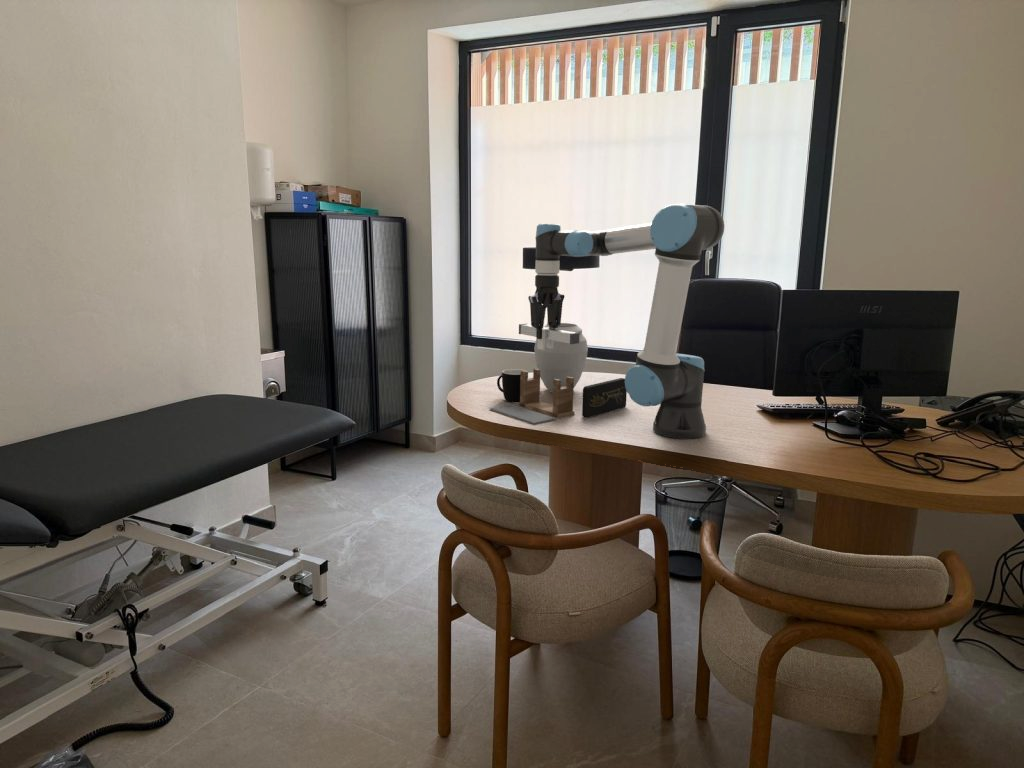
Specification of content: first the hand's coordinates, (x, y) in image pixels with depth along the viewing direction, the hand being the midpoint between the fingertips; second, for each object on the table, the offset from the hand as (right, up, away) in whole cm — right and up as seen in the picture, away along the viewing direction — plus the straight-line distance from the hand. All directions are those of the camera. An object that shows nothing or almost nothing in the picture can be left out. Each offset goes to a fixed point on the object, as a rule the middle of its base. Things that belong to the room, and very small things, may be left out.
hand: (545, 348), depth 222 cm
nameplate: (+19, -21, +4) cm, 29 cm away
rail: (+1, +3, -1) cm, 4 cm away
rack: (0, -20, +5) cm, 21 cm away
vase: (+7, -14, +33) cm, 36 cm away
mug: (-11, -17, +18) cm, 27 cm away
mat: (-7, -21, -1) cm, 23 cm away
